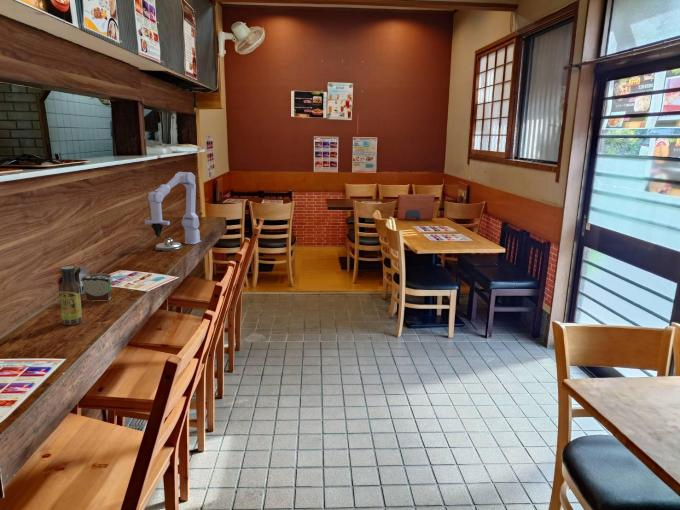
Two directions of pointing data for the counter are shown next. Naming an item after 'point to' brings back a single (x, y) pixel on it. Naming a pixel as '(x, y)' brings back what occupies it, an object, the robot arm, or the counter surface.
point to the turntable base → (168, 249)
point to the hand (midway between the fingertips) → (158, 236)
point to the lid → (169, 241)
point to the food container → (97, 286)
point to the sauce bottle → (69, 297)
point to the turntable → (168, 245)
